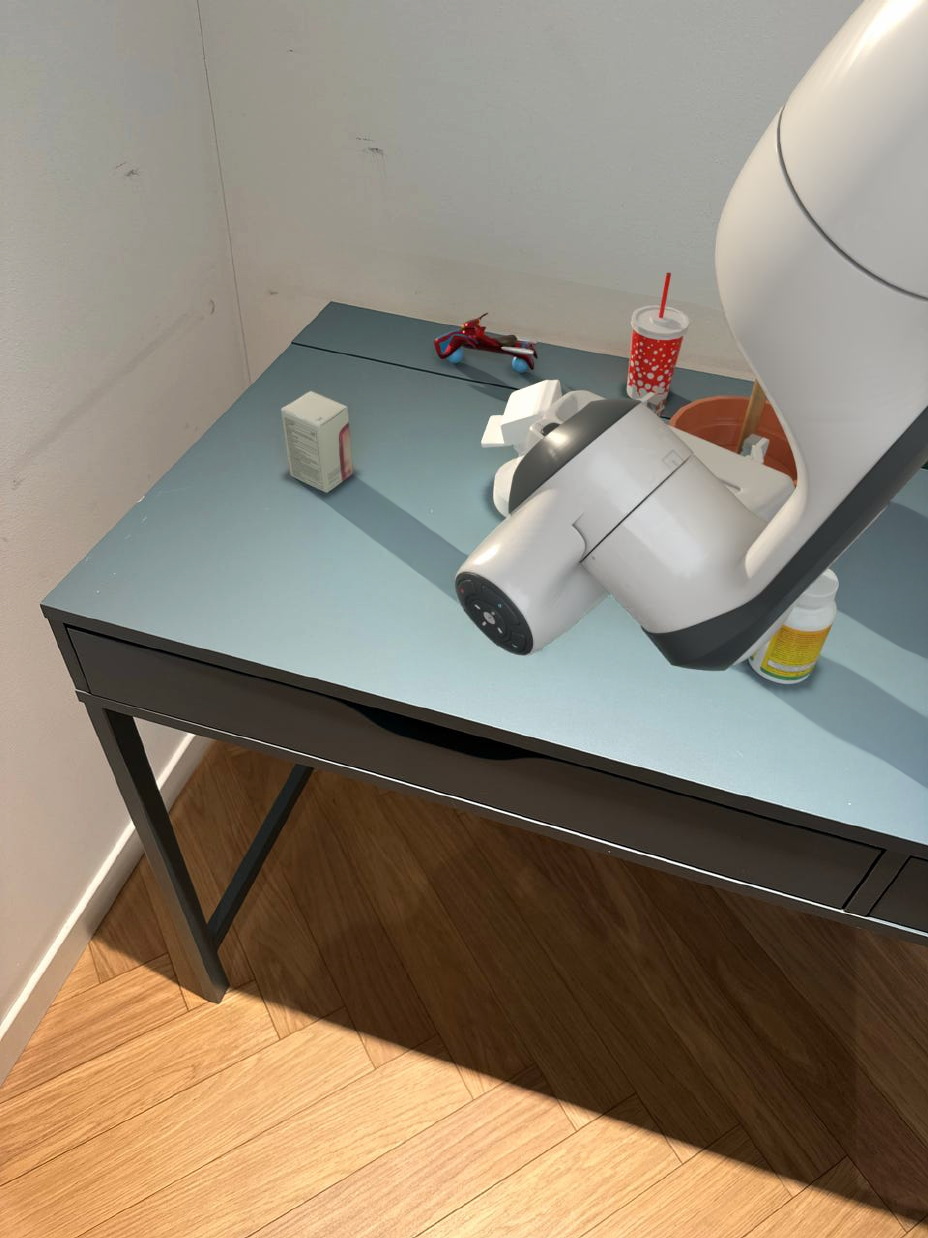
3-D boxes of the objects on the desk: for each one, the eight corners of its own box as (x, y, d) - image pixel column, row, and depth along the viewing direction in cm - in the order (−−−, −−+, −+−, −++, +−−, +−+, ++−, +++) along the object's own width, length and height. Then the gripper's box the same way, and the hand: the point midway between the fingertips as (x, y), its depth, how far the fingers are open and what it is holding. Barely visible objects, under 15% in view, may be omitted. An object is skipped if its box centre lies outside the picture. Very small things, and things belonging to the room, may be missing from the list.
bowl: (833, 477, 98) (851, 428, 94) (780, 559, 89) (797, 508, 85) (695, 428, 104) (706, 379, 99) (632, 500, 94) (641, 449, 90)
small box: (355, 473, 96) (350, 406, 91) (326, 495, 94) (319, 426, 88) (317, 455, 98) (310, 388, 93) (288, 475, 96) (279, 407, 90)
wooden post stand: (769, 478, 96) (822, 307, 83) (749, 505, 93) (801, 331, 80) (720, 460, 98) (764, 290, 85) (700, 486, 95) (742, 313, 82)
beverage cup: (673, 410, 106) (698, 290, 96) (617, 403, 107) (636, 283, 97) (675, 381, 110) (699, 263, 100) (622, 374, 111) (641, 257, 101)
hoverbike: (439, 347, 114) (439, 303, 110) (538, 362, 112) (542, 317, 108) (428, 369, 111) (428, 324, 107) (530, 385, 109) (534, 340, 105)
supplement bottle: (733, 650, 80) (761, 565, 74) (783, 631, 82) (815, 546, 75) (774, 695, 77) (807, 610, 70) (826, 674, 79) (863, 589, 72)
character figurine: (572, 533, 91) (586, 425, 82) (474, 517, 92) (478, 409, 84) (584, 478, 97) (599, 372, 88) (492, 464, 98) (498, 359, 90)
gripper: (754, 527, 65) (838, 436, 73) (512, 417, 74) (609, 347, 82) (734, 594, 69) (814, 502, 77) (508, 483, 78) (600, 411, 86)
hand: (707, 422), depth 79 cm, fingers open, 8 cm apart
